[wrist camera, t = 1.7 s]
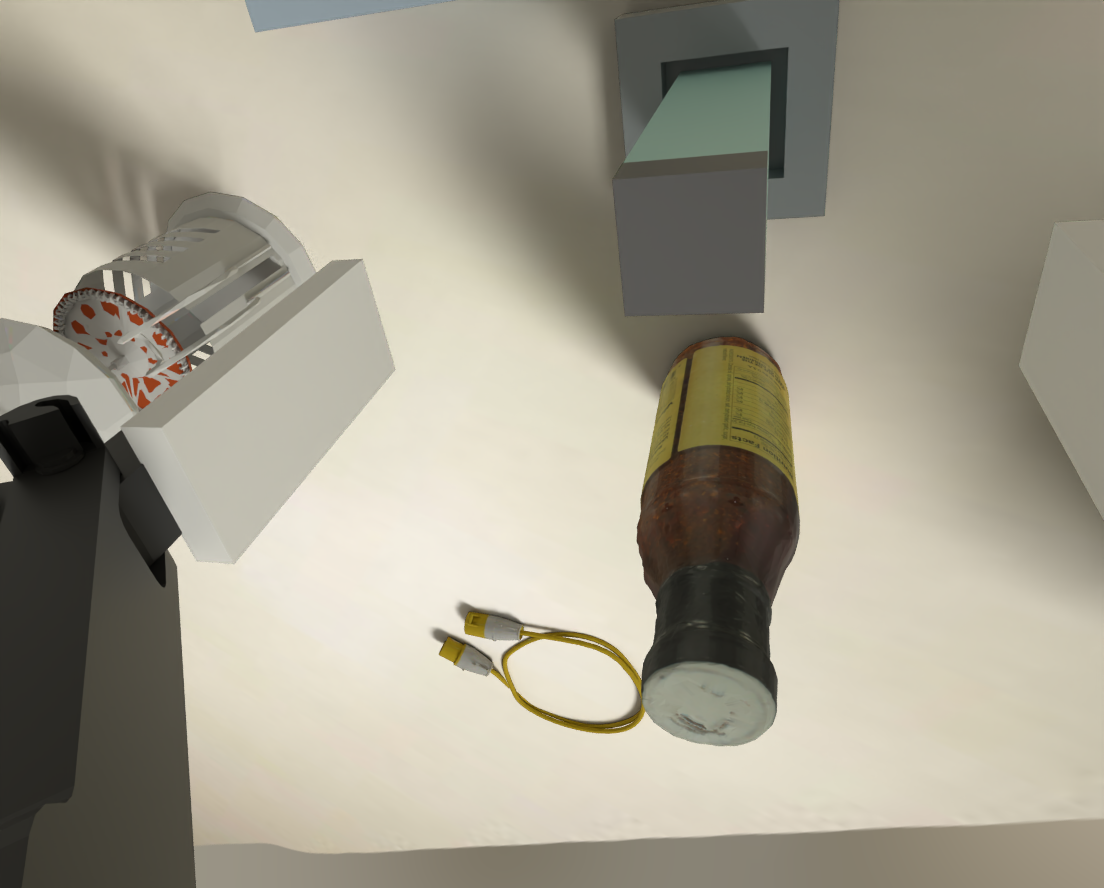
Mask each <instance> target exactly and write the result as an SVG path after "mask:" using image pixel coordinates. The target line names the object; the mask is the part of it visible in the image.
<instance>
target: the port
mask: <svg viewBox="0 0 1104 888" xmlns="http://www.w3.org/2000/svg"><path fill="white" fill-rule="evenodd" d="M448 1H454V0H245V2H246V5H247V8H248V12H249V15H250V18H251V21H252V24H253V27H254V30H255V32H261V31H267V30H273V29H279V28H286V27H292V26H298V25H304V24H311V23H317V22H323V21H329V20H336V19H342V18H348V17H354V16H361V15H367V14H373V13H379V12H386V11H392V10H398V9H404V8H410V7H417V6H423V5H429V4H435V3H442V2H448Z"/></svg>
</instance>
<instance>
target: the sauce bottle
mask: <svg viewBox="0 0 1104 888" xmlns="http://www.w3.org/2000/svg"><path fill="white" fill-rule="evenodd" d="M799 532H800V518H799V506H798V496H797V487H796V477H795V466H794V454H793V442H792V431H791V419H790V406H789V395H788V390H787V387H786V384H785V381H784V379H783V377H782V374H781V371H780V367H779V365H778V364H777V362H776V361H775V360H774V359H772V357H771V356H769V355H768V353H766V352H765V351H764V350H762V349H761V348H759V347H758V346H756V345H754V344H753V343H751V342H748V341H746V340H745V339H742V338H739V337H718V338H714V339H708V340H704V341H702V342H699V343H695V344H694V345H690V346H689V347H688V348H687V349H685V350H684V351H683V352H682V353H681V354H680V355H679V356H678V357H677V359H676V360H675V361H674V363H673V365H672V367H671V369H670V371H669V373H668V376H667V377H666V379H665V381H664V383H663V385H662V389H661V393H660V399H659V405H658V409H657V414H656V420H655V426H654V431H653V437H652V442H651V447H650V453H649V458H648V463H647V468H646V473H645V478H644V484H643V489H642V495H641V514H640V519H639V522H638V525H637V543H638V545H639V554H640V556H641V558H642V565H643V567H644V580H645V583H646V584H647V585H648V587H649V588H650V590H651V591H652V593H653V595H654V597H655V599H656V603H655V604H656V613H657V619H656V625H655V635H654V642H653V646H652V647H651V649H650V651H649V652H648V654H647V655H646V658H645V660H644V663H643V669H642V682H641V696H642V704H643V706H644V708H645V711H646V712H647V714H648V715H649V716H650V718H651V719H652V720H653V722H654V723H656V724H657V725H658V726H660V727H661V728H662V729H664V730H665V731H667V732H669V733H670V734H672V735H673V736H676V737H679V738H682V739H685V740H687V741H690V742H695V743H700V744H709V745H715V746H738V745H742V744H745V743H748V742H751V741H753V740H756V739H757V738H758V737H759V736H761V735H762V734H763V733H764V732H765V731H766V730H767V729H769V728H770V727H771V726H772V724H773V722H774V719H775V716H776V713H777V684H778V680H777V676H776V672H775V669H774V666H773V664H772V662H771V661H770V645H769V626H770V623H771V616H772V609H771V606H772V604H773V601H774V598H775V596H776V593H777V590H778V587H779V585H780V582H781V580H782V577H783V575H784V572H785V570H786V568H787V567H788V565H789V564H790V562H791V561H792V558H793V556H794V554H795V551H796V547H797V543H798V539H799Z"/></svg>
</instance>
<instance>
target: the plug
mask: <svg viewBox="0 0 1104 888" xmlns="http://www.w3.org/2000/svg"><path fill="white" fill-rule="evenodd" d="M770 94H771V61H766V62H757V63H749V64H741V65H732V66H724V67H715V68H707V69H698V70H690V71H682V72H680V74H679V75H678V77H677V79H676V80H675V82H674V83H673V85H672V86H671V88H670V90H669V91H668V93H667V94H666V96H665V98H664V99H663V101H662V102H661V104H660V105H659V107H658V109H657V110H656V112H655V113H654V115H653V116H652V118H651V120H650V121H649V123H648V124H647V126H646V127H645V129H644V131H643V132H642V134H641V135H640V137H639V139H638V140H637V142H636V143H635V145H634V146H633V148H632V150H631V151H630V153H629V154H628V156H627V157H626V159H625V161H624V162H623V164H622V165H621V167H620V168H619V170H618V172H617V173H616V175H615V176H614V178H613V180H612V181H613V192H614V203H615V214H616V225H617V236H618V247H619V257H620V268H621V279H622V290H623V301H624V312H625V316H652V315H692V314H732V313H764V289H765V259H766V229H767V199H768V169H769V134H770Z"/></svg>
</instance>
